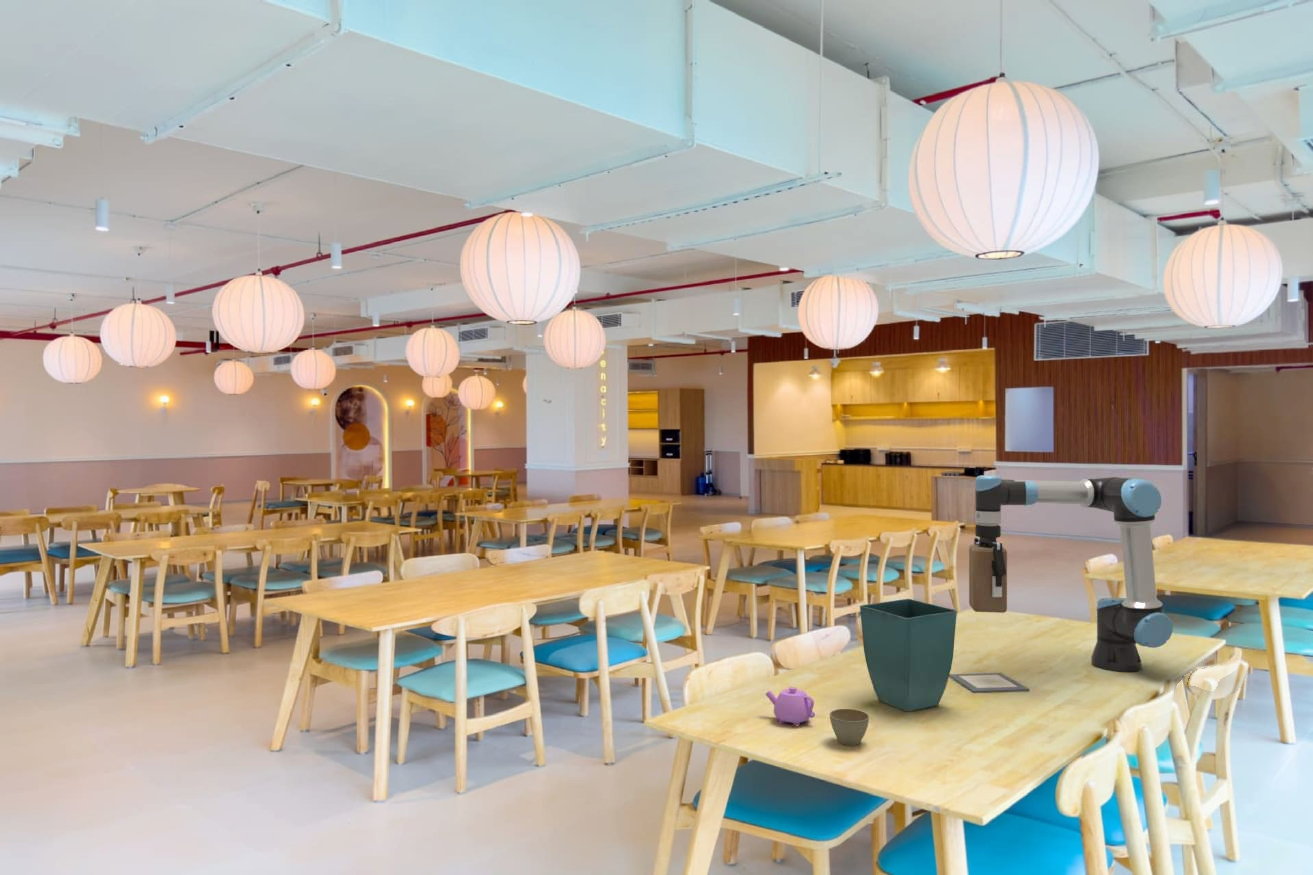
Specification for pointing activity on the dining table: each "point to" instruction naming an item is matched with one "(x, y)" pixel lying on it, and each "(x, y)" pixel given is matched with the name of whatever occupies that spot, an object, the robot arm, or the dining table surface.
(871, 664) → the flower pot
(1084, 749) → the dining table surface
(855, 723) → the bowl
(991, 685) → the mat
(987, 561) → the wooden block
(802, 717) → the teapot
